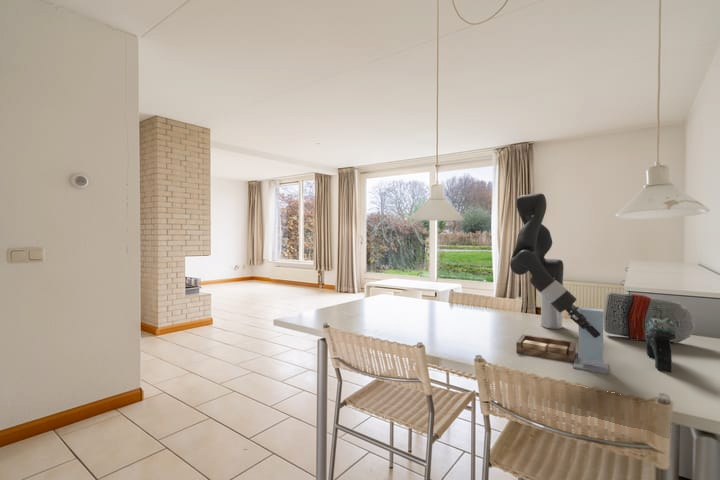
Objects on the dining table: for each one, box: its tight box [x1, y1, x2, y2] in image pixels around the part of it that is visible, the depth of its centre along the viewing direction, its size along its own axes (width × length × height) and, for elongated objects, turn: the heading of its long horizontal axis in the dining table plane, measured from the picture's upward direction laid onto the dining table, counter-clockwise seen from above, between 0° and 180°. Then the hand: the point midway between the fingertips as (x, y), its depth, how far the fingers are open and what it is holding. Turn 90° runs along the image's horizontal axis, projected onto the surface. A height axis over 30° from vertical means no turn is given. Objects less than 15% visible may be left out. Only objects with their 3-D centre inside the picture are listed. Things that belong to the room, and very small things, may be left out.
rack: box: [515, 333, 577, 363], centre depth 137 cm, size 19×13×4 cm
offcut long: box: [522, 340, 548, 352], centre depth 137 cm, size 8×4×4 cm, turn 49°
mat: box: [572, 357, 610, 375], centre depth 122 cm, size 10×10×1 cm
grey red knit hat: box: [603, 291, 696, 344], centre depth 152 cm, size 19×6×30 cm
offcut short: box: [548, 344, 568, 355], centre depth 132 cm, size 6×4×4 cm, turn 52°
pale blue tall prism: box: [577, 306, 604, 363], centre depth 122 cm, size 7×4×17 cm, turn 56°
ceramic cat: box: [645, 308, 675, 373], centre depth 125 cm, size 20×6×20 cm, turn 151°
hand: (597, 334), depth 121 cm, fingers closed on pale blue tall prism, 3 cm apart
